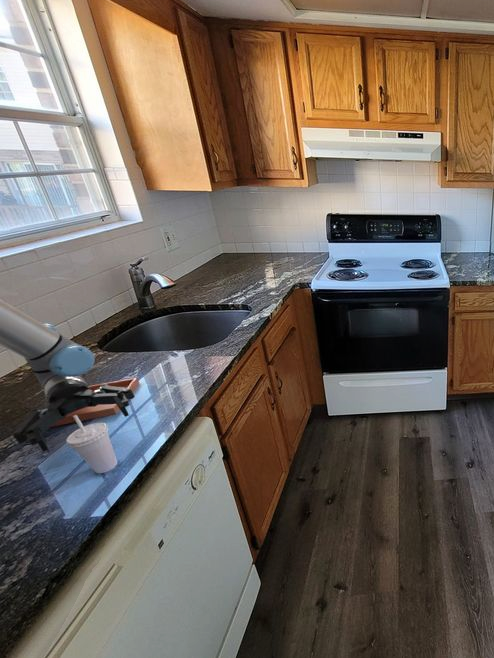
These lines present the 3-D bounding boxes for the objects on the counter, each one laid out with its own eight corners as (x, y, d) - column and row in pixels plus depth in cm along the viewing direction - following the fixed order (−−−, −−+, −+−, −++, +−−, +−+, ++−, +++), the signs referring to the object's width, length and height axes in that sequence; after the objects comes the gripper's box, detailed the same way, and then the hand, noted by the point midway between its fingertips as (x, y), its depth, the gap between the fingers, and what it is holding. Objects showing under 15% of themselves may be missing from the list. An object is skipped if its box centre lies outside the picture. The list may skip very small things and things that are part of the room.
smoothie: (110, 453, 83) (82, 404, 77) (132, 457, 82) (105, 407, 76) (79, 476, 78) (46, 424, 72) (102, 480, 76) (71, 428, 70)
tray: (44, 428, 92) (40, 421, 91) (77, 394, 105) (74, 388, 104) (116, 413, 96) (113, 407, 95) (139, 383, 109) (137, 377, 108)
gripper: (134, 382, 102) (159, 411, 90) (3, 432, 85) (12, 476, 73) (123, 359, 99) (147, 386, 87) (-15, 406, 82) (-9, 448, 70)
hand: (86, 427), depth 80 cm, fingers open, 13 cm apart
